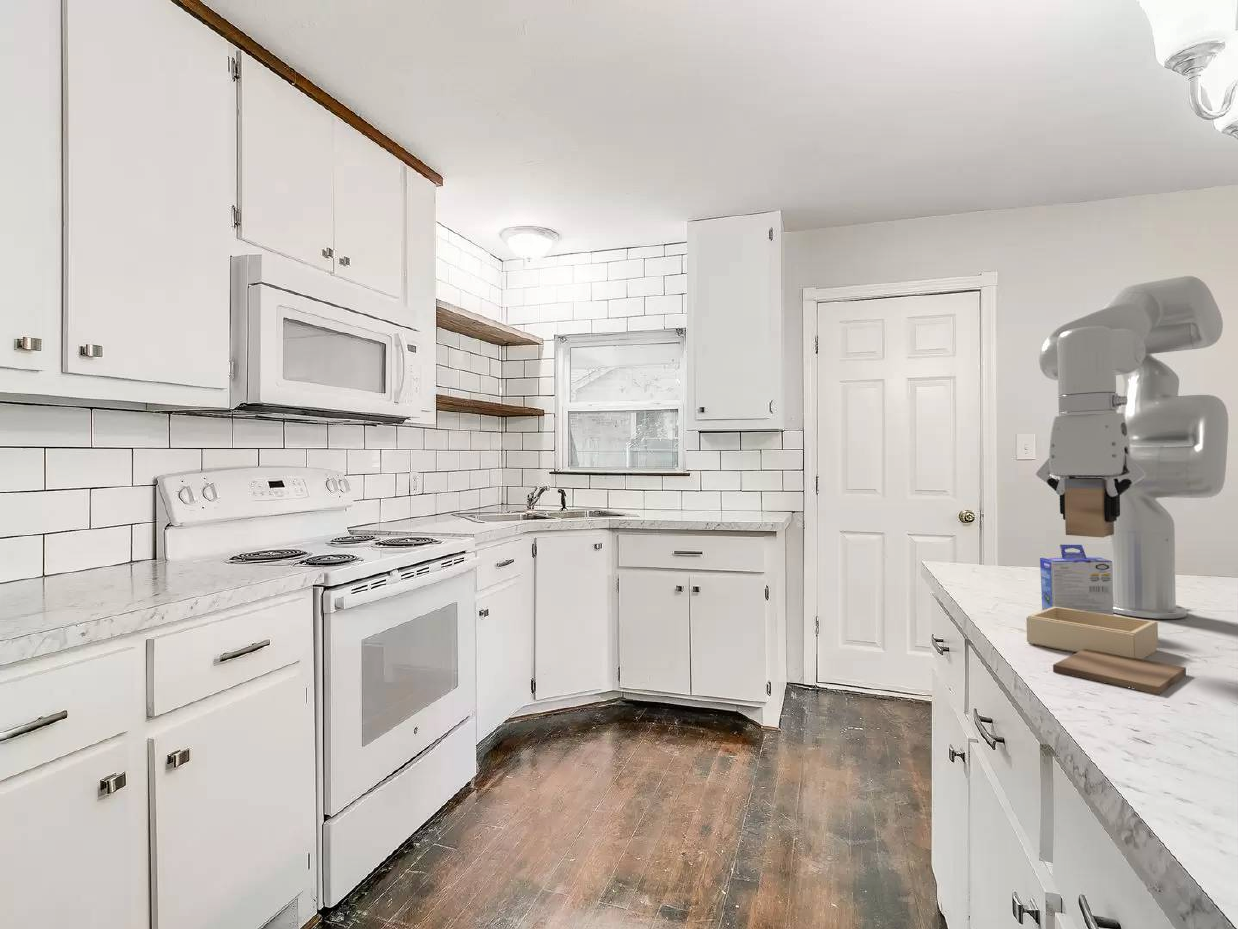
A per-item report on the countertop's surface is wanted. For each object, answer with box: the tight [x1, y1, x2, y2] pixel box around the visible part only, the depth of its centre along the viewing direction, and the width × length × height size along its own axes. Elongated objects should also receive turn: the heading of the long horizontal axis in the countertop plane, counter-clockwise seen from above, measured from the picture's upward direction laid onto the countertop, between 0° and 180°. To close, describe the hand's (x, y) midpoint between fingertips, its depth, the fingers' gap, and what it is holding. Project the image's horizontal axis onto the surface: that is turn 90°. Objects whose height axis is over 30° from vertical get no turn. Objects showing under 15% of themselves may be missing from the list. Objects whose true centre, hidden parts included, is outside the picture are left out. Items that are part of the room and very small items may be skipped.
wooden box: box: [1026, 607, 1159, 660], centre depth 105 cm, size 11×14×4 cm
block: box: [1064, 477, 1114, 539], centre depth 105 cm, size 5×5×9 cm
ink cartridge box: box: [1039, 544, 1115, 615], centre depth 117 cm, size 10×6×14 cm, turn 78°
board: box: [1052, 649, 1187, 695], centre depth 93 cm, size 12×12×1 cm
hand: (1089, 519), depth 105 cm, fingers closed on block, 5 cm apart
